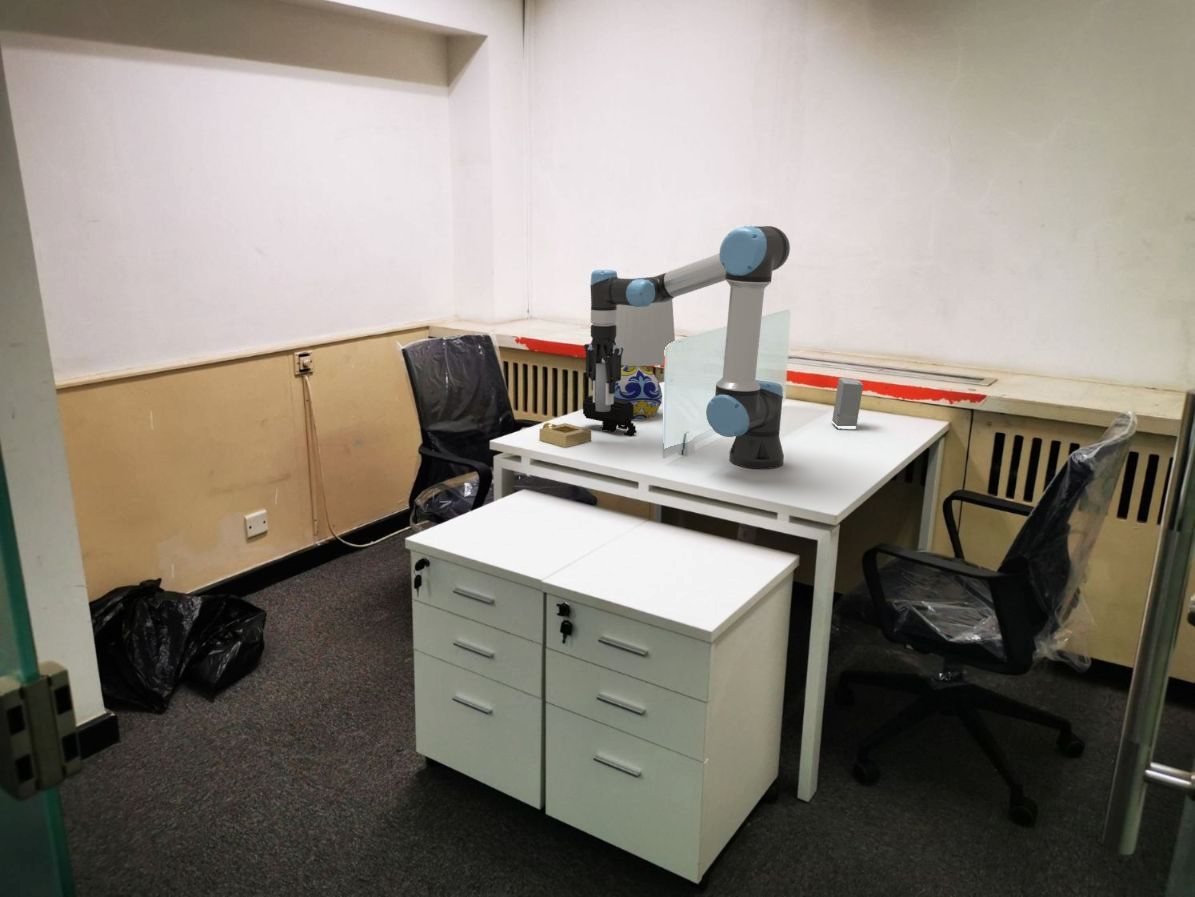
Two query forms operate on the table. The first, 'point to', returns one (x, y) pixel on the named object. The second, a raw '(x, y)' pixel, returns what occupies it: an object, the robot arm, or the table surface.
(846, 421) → the skincare box
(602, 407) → the grey rounded cylinder
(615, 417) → the security camera
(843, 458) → the table surface
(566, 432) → the gold square frame
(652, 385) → the table lamp
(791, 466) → the table surface
